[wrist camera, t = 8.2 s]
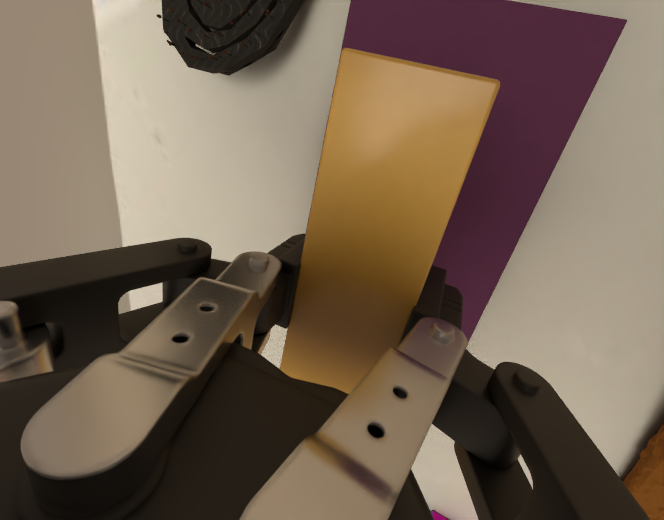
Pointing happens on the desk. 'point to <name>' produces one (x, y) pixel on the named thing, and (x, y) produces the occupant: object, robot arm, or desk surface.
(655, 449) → the primitive tool
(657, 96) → the desk surface
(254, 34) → the hairbrush
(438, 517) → the puzzle toy
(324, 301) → the golden wooden block
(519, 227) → the cloth
